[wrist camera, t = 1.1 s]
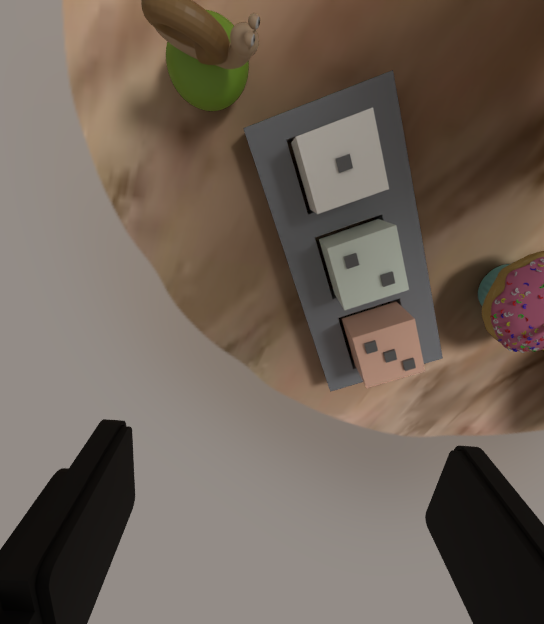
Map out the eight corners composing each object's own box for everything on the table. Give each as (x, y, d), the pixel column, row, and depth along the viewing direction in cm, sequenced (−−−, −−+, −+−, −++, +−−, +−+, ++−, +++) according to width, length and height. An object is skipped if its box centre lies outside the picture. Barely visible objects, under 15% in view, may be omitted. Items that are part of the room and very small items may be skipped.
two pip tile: (318, 239, 28) (327, 249, 24) (378, 218, 27) (397, 225, 23) (334, 293, 29) (345, 311, 25) (390, 275, 29) (410, 290, 25)
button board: (245, 132, 26) (243, 128, 24) (381, 80, 25) (393, 70, 23) (326, 377, 35) (330, 391, 33) (430, 346, 34) (442, 358, 32)
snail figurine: (249, 132, 27) (238, 99, 15) (169, 100, 26) (96, 40, 14) (272, 54, 25) (279, -48, 14) (187, 17, 24) (119, -126, 13)
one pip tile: (290, 142, 25) (296, 136, 21) (356, 118, 24) (374, 106, 20) (310, 209, 27) (318, 214, 23) (371, 187, 26) (390, 188, 22)
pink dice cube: (341, 318, 30) (353, 339, 26) (396, 301, 30) (416, 320, 26) (354, 364, 32) (367, 390, 28) (406, 348, 31) (426, 372, 28)
